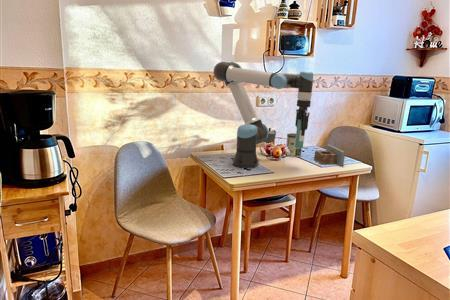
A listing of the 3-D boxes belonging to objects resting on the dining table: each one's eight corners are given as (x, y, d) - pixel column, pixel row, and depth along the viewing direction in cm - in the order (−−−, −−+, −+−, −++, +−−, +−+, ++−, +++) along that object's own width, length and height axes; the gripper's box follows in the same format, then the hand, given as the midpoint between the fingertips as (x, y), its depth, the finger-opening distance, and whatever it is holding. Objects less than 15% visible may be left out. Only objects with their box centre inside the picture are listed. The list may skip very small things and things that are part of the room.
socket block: (321, 164, 206) (322, 154, 205) (314, 159, 216) (315, 150, 214) (335, 164, 208) (337, 154, 206) (328, 159, 217) (329, 150, 216)
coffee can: (299, 153, 230) (301, 133, 227) (302, 157, 220) (304, 136, 217) (284, 152, 231) (286, 132, 227) (286, 156, 220) (288, 136, 217)
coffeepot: (269, 157, 218) (271, 130, 213) (257, 154, 223) (258, 128, 219) (280, 152, 230) (282, 127, 225) (268, 150, 235) (269, 125, 231)
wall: (340, 166, 203) (342, 152, 201) (325, 157, 222) (326, 144, 220) (343, 166, 204) (345, 152, 201) (328, 157, 223) (329, 144, 220)
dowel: (296, 148, 192) (299, 120, 188) (293, 146, 196) (296, 119, 192) (304, 148, 193) (307, 120, 189) (301, 146, 197) (304, 119, 193)
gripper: (317, 101, 180) (312, 143, 186) (304, 98, 196) (299, 136, 202) (304, 101, 178) (299, 143, 184) (292, 97, 195) (288, 136, 201)
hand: (299, 139), depth 193 cm, fingers closed on dowel, 4 cm apart
